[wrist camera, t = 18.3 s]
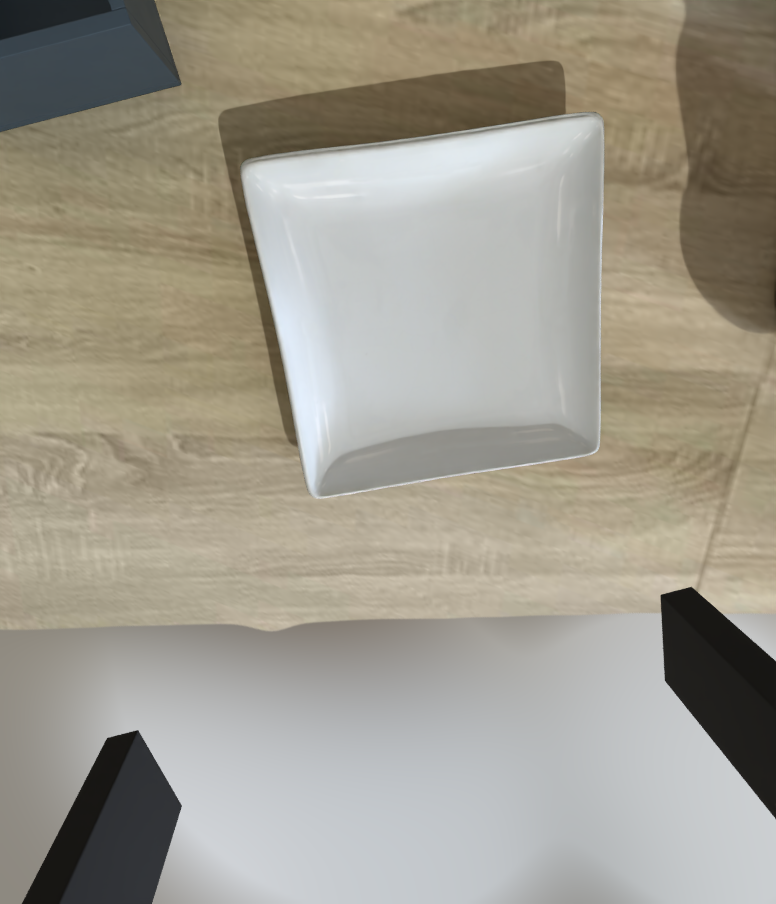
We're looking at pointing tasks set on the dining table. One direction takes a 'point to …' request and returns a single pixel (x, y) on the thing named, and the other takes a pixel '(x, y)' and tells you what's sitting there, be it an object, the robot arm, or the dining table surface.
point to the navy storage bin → (78, 56)
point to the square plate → (436, 299)
